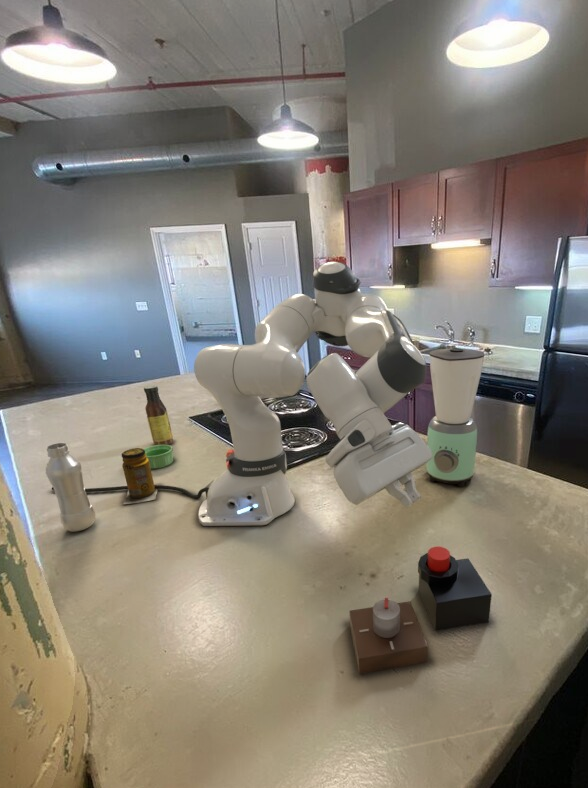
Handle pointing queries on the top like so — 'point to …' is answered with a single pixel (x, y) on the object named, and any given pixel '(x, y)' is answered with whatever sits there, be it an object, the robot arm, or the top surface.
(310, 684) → the top surface
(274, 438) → the robot arm
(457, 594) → the black button base
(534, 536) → the top surface
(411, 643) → the timer panel
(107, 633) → the top surface
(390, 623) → the knob
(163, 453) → the ramekin
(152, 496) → the condiment
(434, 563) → the button
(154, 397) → the sauce bottle
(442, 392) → the green blender
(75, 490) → the plastic bottle
